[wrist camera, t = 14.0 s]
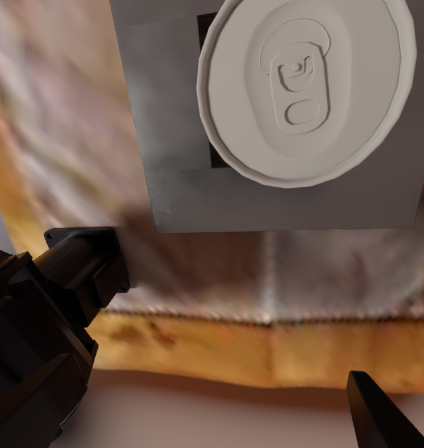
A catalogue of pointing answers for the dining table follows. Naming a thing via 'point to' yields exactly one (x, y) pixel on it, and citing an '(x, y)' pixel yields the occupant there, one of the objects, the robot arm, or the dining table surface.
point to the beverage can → (304, 84)
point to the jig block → (220, 170)
